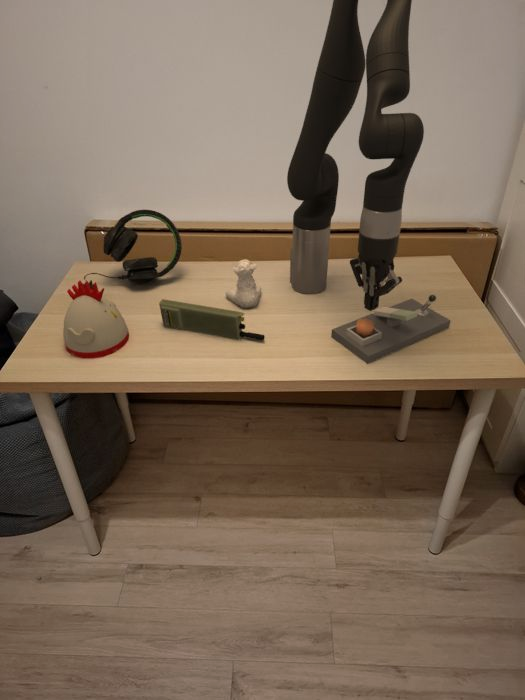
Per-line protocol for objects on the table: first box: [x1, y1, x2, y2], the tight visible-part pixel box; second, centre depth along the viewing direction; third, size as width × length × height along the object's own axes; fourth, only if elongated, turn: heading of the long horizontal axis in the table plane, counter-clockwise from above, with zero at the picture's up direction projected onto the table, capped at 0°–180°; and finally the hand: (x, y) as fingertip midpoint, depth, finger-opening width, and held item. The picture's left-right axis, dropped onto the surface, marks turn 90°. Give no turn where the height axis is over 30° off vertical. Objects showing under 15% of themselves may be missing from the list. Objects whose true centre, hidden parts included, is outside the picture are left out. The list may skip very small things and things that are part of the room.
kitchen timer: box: [62, 280, 130, 359], centre depth 105 cm, size 14×14×15 cm
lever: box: [421, 294, 437, 312], centre depth 110 cm, size 2×2×6 cm
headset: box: [82, 209, 183, 290], centre depth 126 cm, size 18×14×29 cm
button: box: [356, 318, 374, 336], centre depth 104 cm, size 4×4×2 cm
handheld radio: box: [158, 298, 266, 341], centre depth 109 cm, size 7×3×25 cm
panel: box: [330, 297, 452, 365], centre depth 109 cm, size 12×25×4 cm, turn 122°
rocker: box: [373, 306, 417, 321], centre depth 108 cm, size 10×3×1 cm, turn 32°
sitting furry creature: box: [225, 258, 262, 309], centre depth 119 cm, size 10×9×12 cm
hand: (370, 308), depth 101 cm, fingers closed
